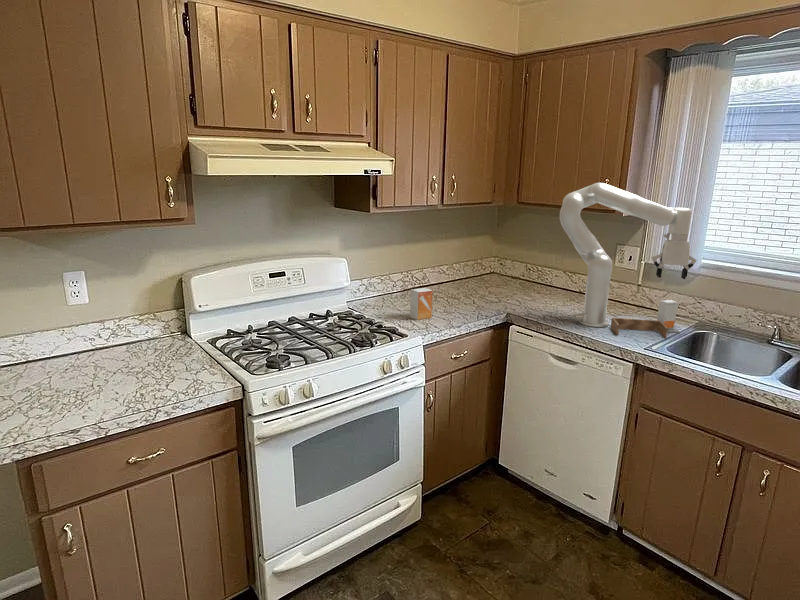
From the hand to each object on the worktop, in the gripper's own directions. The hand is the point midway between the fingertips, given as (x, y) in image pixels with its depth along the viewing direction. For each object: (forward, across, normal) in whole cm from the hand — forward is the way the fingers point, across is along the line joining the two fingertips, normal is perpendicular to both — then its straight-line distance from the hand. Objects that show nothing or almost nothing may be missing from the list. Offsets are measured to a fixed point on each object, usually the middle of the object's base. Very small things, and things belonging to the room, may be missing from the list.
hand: (670, 277), depth 221 cm
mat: (+23, 0, 0) cm, 23 cm away
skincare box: (+22, +1, 0) cm, 22 cm away
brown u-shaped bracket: (+23, -12, -9) cm, 28 cm away
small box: (+24, -106, -6) cm, 108 cm away
